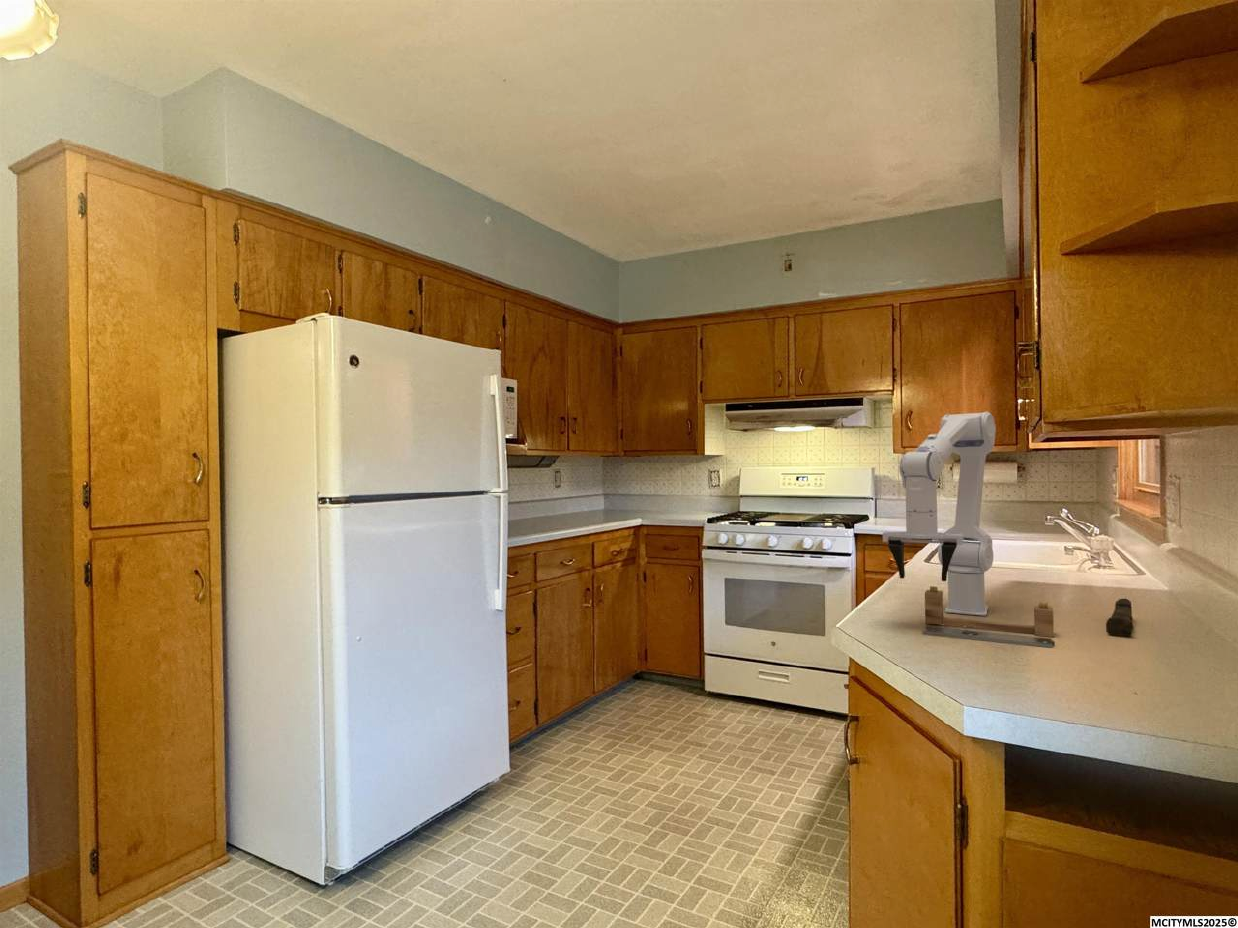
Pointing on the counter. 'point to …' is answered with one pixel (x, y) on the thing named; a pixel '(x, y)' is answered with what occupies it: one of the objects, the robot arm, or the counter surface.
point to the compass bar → (1040, 628)
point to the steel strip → (990, 636)
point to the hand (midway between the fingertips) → (922, 579)
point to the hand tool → (1120, 620)
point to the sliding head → (933, 606)
